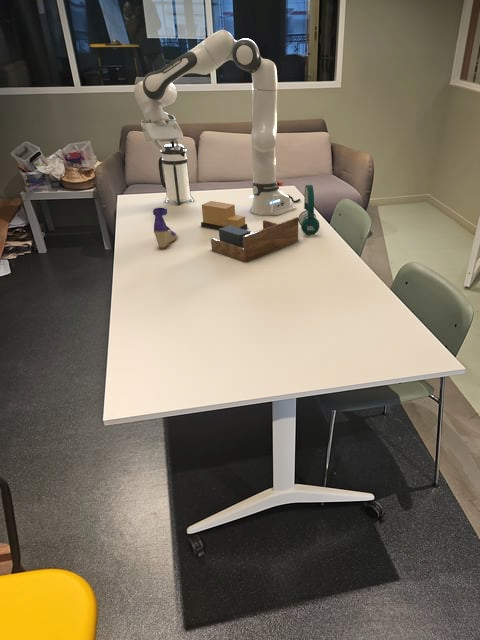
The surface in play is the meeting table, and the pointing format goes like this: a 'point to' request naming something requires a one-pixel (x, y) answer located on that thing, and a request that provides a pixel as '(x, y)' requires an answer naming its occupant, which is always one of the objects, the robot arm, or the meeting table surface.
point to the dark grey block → (233, 235)
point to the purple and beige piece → (162, 229)
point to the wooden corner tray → (260, 241)
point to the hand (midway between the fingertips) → (171, 150)
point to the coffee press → (175, 173)
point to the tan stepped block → (221, 216)
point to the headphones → (309, 213)
